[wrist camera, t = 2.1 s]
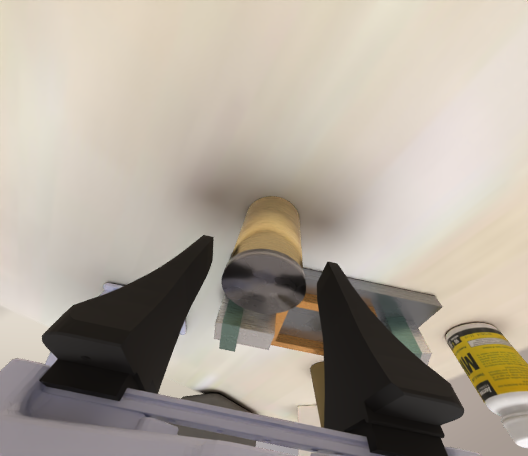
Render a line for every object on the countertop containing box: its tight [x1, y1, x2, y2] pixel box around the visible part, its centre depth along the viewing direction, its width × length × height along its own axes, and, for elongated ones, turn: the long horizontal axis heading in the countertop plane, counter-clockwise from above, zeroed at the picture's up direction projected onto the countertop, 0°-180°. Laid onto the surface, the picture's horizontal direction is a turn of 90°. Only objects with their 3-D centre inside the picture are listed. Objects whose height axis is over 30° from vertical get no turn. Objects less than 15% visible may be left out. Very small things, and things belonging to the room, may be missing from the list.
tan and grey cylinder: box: [222, 196, 306, 314], centre depth 14 cm, size 5×5×7 cm
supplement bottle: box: [446, 323, 528, 448], centre depth 19 cm, size 5×5×8 cm
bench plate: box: [214, 255, 442, 365], centre depth 21 cm, size 20×13×5 cm, turn 80°
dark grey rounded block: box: [169, 393, 256, 447], centre depth 39 cm, size 16×11×16 cm
